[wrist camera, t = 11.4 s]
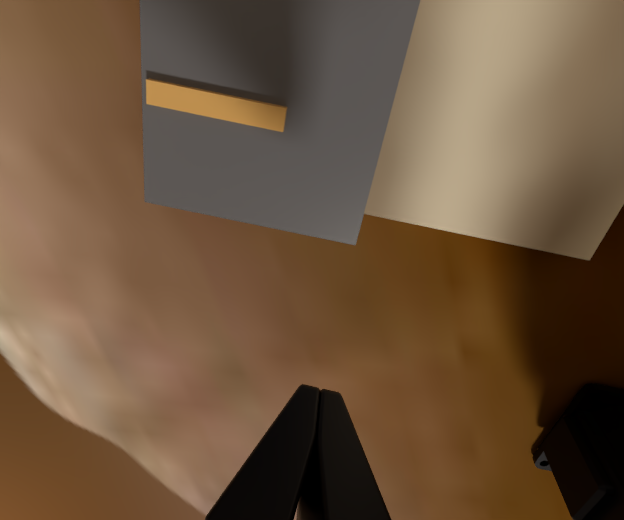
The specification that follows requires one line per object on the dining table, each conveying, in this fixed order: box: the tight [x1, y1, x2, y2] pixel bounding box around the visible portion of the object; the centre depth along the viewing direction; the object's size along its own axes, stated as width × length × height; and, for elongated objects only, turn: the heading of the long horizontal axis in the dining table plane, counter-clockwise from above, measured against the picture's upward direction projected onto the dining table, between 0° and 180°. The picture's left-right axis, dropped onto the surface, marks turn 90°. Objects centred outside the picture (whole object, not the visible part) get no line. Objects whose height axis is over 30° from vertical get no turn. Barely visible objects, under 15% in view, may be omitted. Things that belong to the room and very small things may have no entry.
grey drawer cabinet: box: [140, 0, 420, 245], centre depth 13 cm, size 6×6×5 cm
